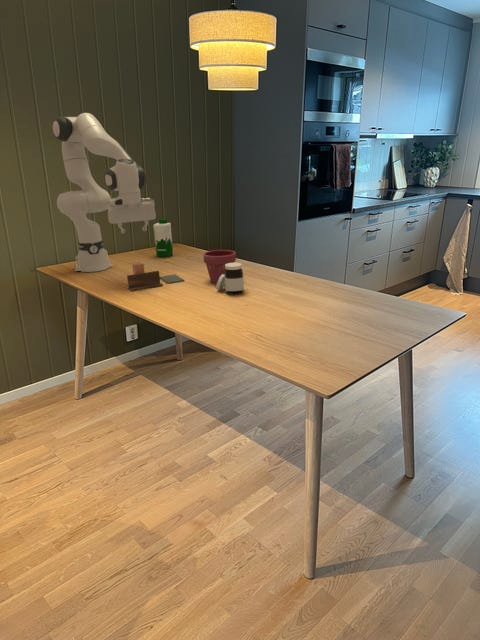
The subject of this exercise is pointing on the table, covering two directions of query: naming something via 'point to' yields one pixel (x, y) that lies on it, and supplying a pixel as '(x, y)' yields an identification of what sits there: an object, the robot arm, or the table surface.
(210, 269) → the plant pot
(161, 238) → the milk carton
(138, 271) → the terracotta block
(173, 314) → the table surface
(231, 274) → the spread jar
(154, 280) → the brown wooden stand
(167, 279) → the charcoal mat
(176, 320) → the table surface
